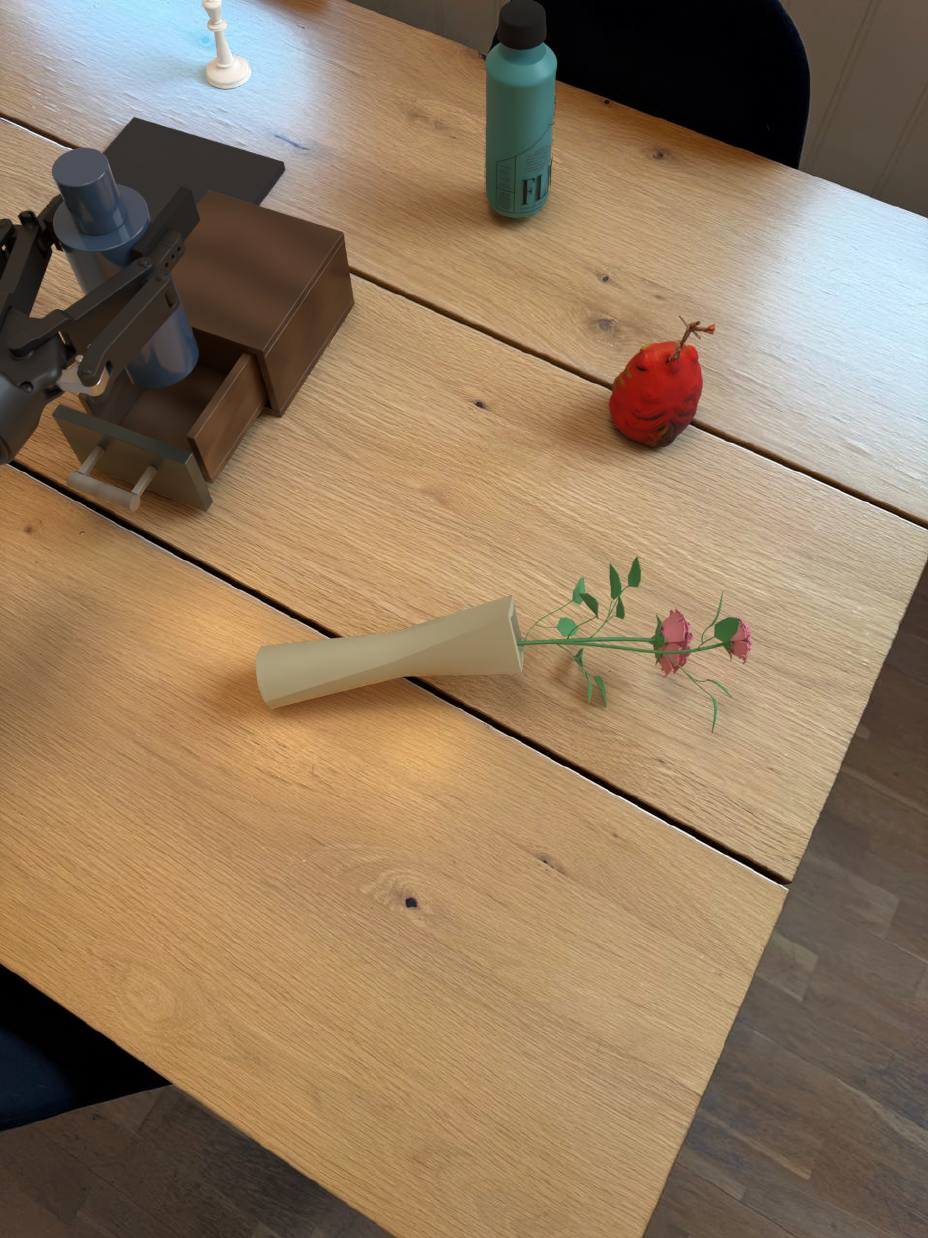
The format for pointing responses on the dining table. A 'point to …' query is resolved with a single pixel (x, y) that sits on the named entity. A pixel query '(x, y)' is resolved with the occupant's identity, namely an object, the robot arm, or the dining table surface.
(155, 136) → the mat
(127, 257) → the blue bottle
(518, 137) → the beverage bottle
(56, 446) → the dining table surface
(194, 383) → the drawer
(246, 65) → the chess piece
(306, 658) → the flower vase
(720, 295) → the dining table surface
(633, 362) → the red fruit with stem
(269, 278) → the cabinet
